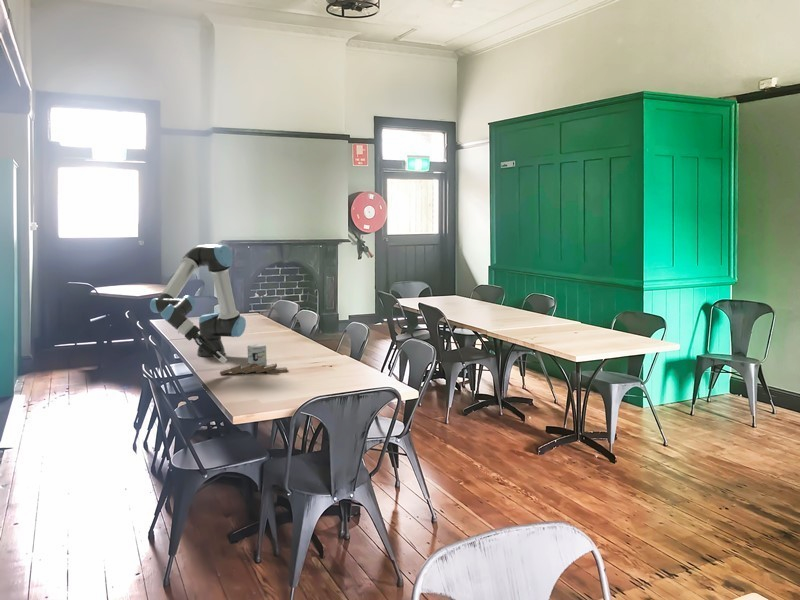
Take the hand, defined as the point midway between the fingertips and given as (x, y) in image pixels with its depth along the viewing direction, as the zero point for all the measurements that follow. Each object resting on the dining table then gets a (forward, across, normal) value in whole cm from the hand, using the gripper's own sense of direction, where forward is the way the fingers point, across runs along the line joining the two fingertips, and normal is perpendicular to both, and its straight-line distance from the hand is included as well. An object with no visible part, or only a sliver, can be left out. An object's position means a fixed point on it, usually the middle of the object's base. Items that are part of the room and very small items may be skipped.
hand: (225, 361), depth 340 cm
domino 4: (+18, 0, +10) cm, 21 cm away
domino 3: (+14, 0, +7) cm, 16 cm away
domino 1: (+6, 0, -1) cm, 6 cm away
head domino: (+2, 0, -5) cm, 6 cm away
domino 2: (+10, 0, +3) cm, 11 cm away
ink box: (+15, -11, +6) cm, 20 cm away
